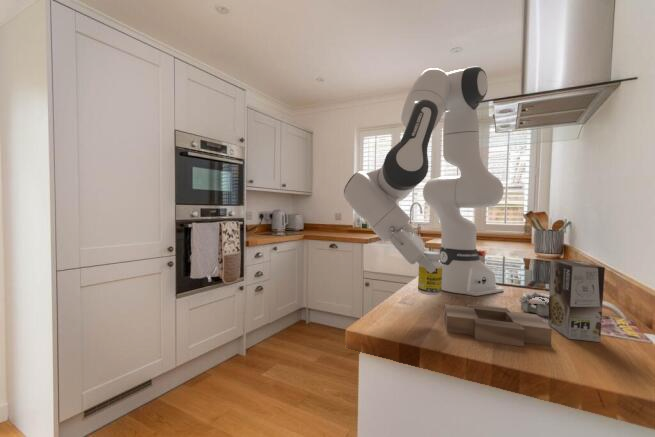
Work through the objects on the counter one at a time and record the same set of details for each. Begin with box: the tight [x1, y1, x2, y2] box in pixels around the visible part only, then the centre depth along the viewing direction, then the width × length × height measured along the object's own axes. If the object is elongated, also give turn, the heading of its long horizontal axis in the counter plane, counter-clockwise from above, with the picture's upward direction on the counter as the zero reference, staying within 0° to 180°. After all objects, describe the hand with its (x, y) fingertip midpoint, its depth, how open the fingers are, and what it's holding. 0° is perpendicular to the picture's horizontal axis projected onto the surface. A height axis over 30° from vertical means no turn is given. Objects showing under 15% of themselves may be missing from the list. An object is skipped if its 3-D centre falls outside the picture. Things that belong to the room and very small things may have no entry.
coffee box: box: [547, 259, 606, 343], centre depth 69 cm, size 9×6×16 cm
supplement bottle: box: [417, 250, 442, 296], centre depth 74 cm, size 5×5×10 cm
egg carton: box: [519, 292, 549, 317], centre depth 85 cm, size 11×8×4 cm
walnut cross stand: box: [443, 303, 553, 347], centre depth 70 cm, size 14×20×4 cm
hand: (433, 268), depth 74 cm, fingers closed on supplement bottle, 5 cm apart
